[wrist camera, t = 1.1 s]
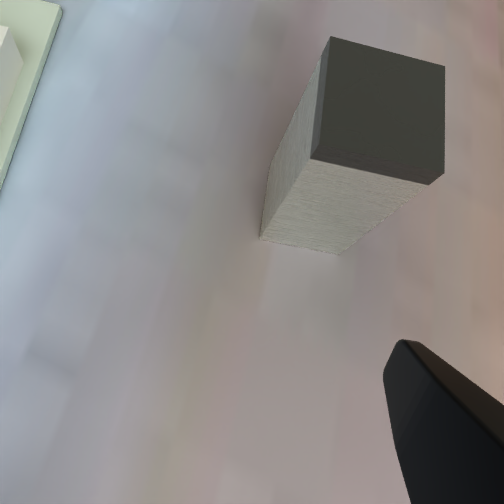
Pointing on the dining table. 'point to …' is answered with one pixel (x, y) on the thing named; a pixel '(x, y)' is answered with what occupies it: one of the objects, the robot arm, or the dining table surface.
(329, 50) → the grey tall block
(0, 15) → the collar holder
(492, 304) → the dining table surface
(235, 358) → the dining table surface
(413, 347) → the robot arm
